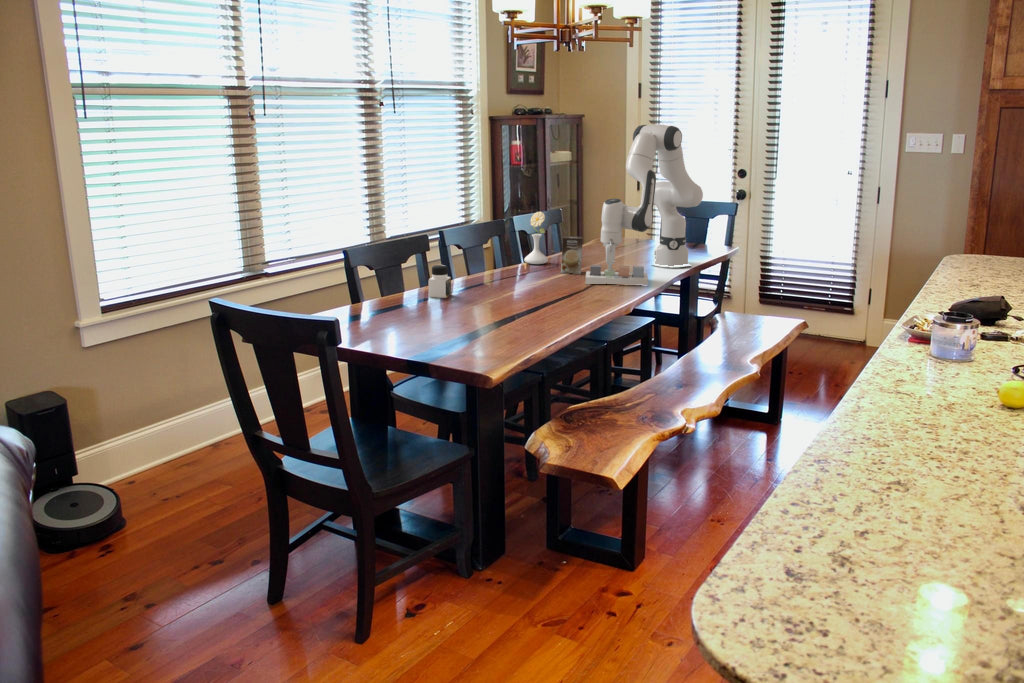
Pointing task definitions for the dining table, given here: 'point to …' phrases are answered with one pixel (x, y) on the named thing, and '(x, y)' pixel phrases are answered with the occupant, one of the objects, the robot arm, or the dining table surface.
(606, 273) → the key sage
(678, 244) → the robot arm
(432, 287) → the medicine bottle
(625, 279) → the keypad
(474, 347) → the dining table surface
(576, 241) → the coffee box
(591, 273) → the key charcoal
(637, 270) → the key slate
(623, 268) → the key terracotta
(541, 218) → the flower in vase
